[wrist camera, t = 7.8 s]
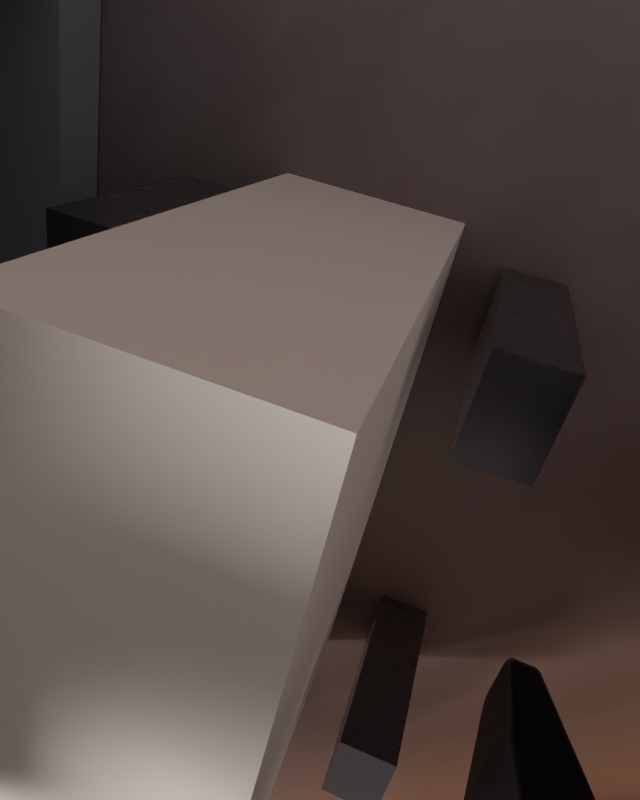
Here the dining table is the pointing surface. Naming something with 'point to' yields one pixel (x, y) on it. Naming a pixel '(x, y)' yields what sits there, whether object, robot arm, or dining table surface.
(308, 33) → the dining table surface
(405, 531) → the dining table surface
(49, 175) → the cabinet
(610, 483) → the dining table surface
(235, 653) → the white block
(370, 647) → the clip brackets
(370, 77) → the dining table surface
